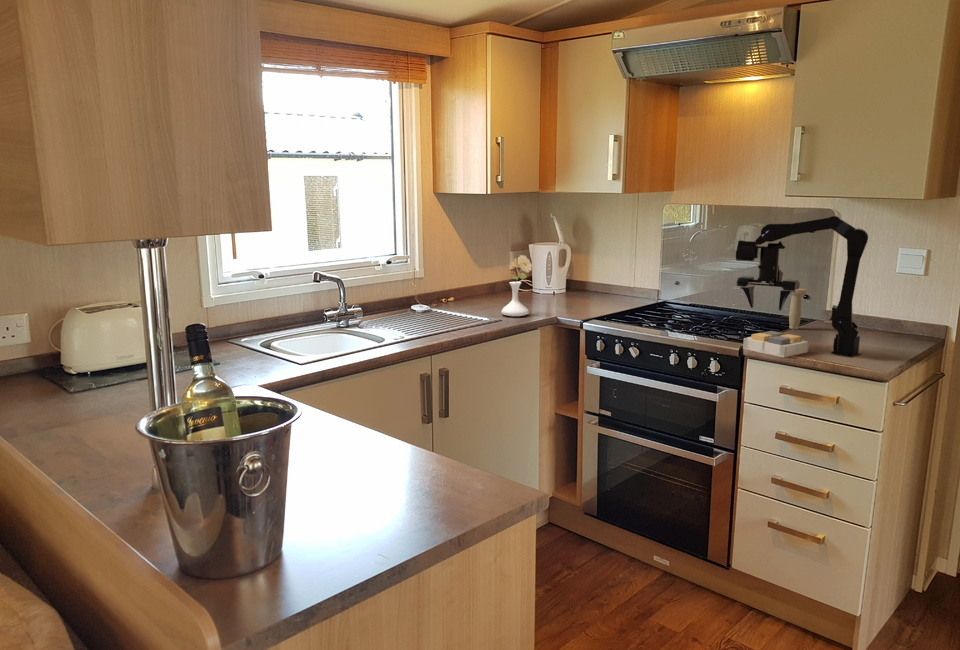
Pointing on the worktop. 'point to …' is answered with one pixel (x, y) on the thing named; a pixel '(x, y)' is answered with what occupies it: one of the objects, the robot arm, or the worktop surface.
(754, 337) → the ochre key
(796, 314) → the handle
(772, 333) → the charcoal key far
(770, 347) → the keypad
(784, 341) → the charcoal key near
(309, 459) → the worktop surface
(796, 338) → the ochre key
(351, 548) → the worktop surface
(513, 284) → the flower in vase
